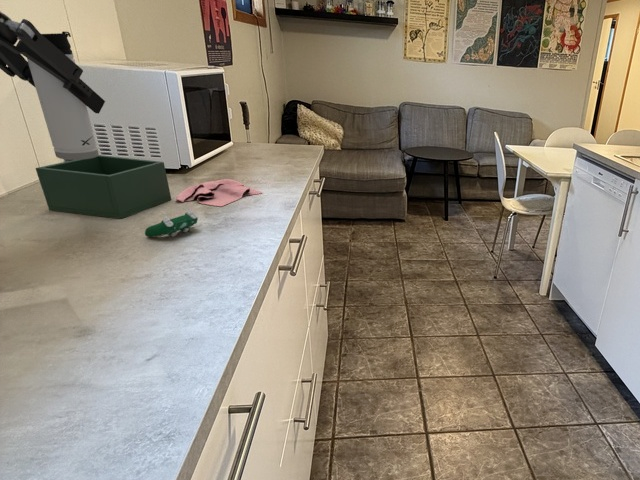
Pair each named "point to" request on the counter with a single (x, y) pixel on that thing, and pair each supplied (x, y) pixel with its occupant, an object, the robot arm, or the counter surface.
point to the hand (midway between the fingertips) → (83, 105)
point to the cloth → (216, 192)
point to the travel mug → (64, 109)
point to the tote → (104, 186)
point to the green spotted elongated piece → (172, 225)
